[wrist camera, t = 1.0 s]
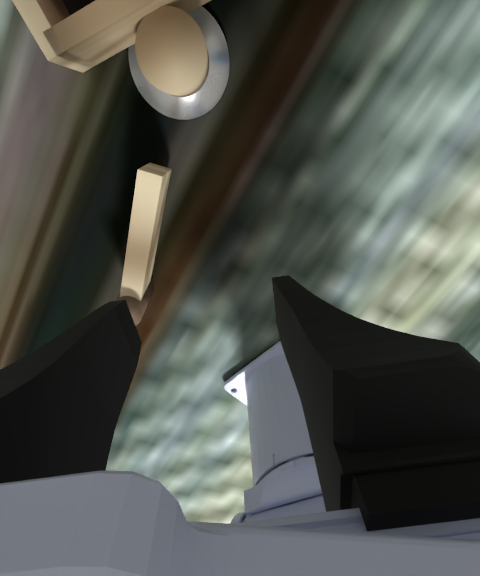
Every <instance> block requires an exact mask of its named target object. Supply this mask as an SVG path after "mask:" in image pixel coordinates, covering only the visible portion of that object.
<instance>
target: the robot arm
mask: <svg viewBox="0 0 480 576" xmlns="http://www.w3.org/2000/svg"><path fill="white" fill-rule="evenodd" d="M272 282H273V292H274V301H275V310H276V319H277V326H278V331H279V336H280V340H281V341H279V342H278V343H277V344H275V345H274V346H273V347H271V348H270V349H268V350H267V351H266V352H264V353H263V354H262V355H260V356H259V357H258V358H256V359H255V360H254V361H252V362H251V363H250V364H248V365H247V366H246V367H244V368H243V369H241V370H240V371H239V372H237V373H236V374H235V375H233V376H232V377H231V378H229V379H228V380H227V381H225V382H224V389H225V390H226V391H227V392H229V393H230V394H231V395H233V396H234V397H235V398H237V399H238V400H240V401H241V402H242V403H244V404H245V405H247V407H248V420H249V433H250V446H251V460H252V473H253V486H254V487H252V488H250V489H248V490H245V491H244V505H245V512H241V513H238V514H237V515H236V516H234V518H233V520H232V521H231V524H223V523H207V522H187V521H186V519H185V516H184V514H183V512H182V509H181V507H180V505H179V502H178V501H177V500H176V499H175V498H174V496H173V495H172V494H171V493H170V492H169V491H168V490H167V489H166V488H165V487H164V486H163V485H162V484H161V483H160V482H159V481H157V480H154V479H151V478H149V477H146V476H143V475H140V474H138V473H135V472H132V471H105V469H106V465H107V460H108V455H109V451H110V447H111V443H112V439H113V435H114V430H115V427H116V424H117V421H118V417H119V415H120V412H121V409H122V406H123V404H124V401H125V398H126V395H127V393H128V390H129V387H130V384H131V382H132V379H133V376H134V373H135V370H136V367H137V364H138V359H139V354H140V349H141V343H142V342H141V340H140V337H139V334H138V332H137V329H136V326H135V323H134V321H133V318H132V315H131V313H130V310H129V307H128V305H127V302H126V299H125V300H119V301H112V302H109V303H107V304H105V305H103V306H101V307H100V308H98V309H97V310H95V311H94V312H92V313H91V314H89V315H88V316H86V317H85V318H84V319H82V320H81V321H79V322H78V323H76V324H75V325H73V326H72V327H71V328H69V329H68V330H66V331H65V332H63V333H62V334H60V335H59V336H57V337H56V338H54V339H53V340H51V341H50V342H48V343H46V344H45V345H43V346H42V347H40V348H39V349H37V350H35V351H34V352H32V353H30V354H29V355H27V356H25V357H23V358H21V359H20V360H18V361H16V362H14V363H12V364H11V365H9V366H7V367H5V368H3V369H1V370H0V576H480V362H479V361H478V360H477V359H476V358H474V357H473V356H472V355H471V354H470V353H469V352H468V351H467V350H466V349H465V348H464V347H462V346H461V345H460V344H459V343H454V342H448V341H442V340H437V339H431V338H425V337H420V336H415V335H411V334H407V333H403V332H399V331H395V330H391V329H388V328H385V327H381V326H378V325H376V324H373V323H370V322H367V321H364V320H362V319H359V318H357V317H354V316H352V315H350V314H348V313H345V312H343V311H341V310H339V309H337V308H335V307H333V306H332V305H330V304H328V303H327V302H325V301H323V300H321V299H320V298H318V297H317V296H315V295H314V294H312V293H311V292H309V291H308V290H307V289H305V288H304V287H303V286H301V285H300V284H299V283H298V282H296V281H295V280H294V279H292V278H291V277H290V276H281V277H274V278H272ZM233 388H235V389H233Z"/></svg>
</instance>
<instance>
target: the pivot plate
mask: <svg viewBox="0 0 480 576" xmlns="http://www.w3.org/2000/svg"><path fill="white" fill-rule="evenodd" d="M188 14H189V15H190V16H191V17H192V18H193V19H194V20H195V21H196V23H197V24H198V26H199V27H200V29H201V31H202V33H203V36H204V39H205V43H206V46H207V50H208V55H209V72H208V76H207V79H206V81H205V83H204V85H203V86H202V88H201V89H200V90H199V91H198V92H196V93H195V94H193V95H191V96H188V97H175V96H172V95H169V94H167V93H165V92H163V91H161V90H159V89H158V88H156V87H155V86H153V85H152V84H151V83H150V82H149V81H148V80H147V78H146V77H145V76H144V74H143V73H142V71H141V69H140V66H139V64H138V61H137V57H136V52H135V44H133V45H131V46H129V50H128V55H129V65H130V70H131V73H132V77H133V79H134V82H135V84H136V86H137V88H138V90H139V92H140V93H141V95H142V96H143V98H144V99H145V100H146V101H147V102H148V103H149V104H150V105H151V106H152V107H153V108H154V109H156V110H157V111H158V112H160V113H162V114H163V115H166V116H168V117H171V118H175V119H182V120H186V119H194V118H197V117H200V116H202V115H204V114H206V113H207V112H209V111H210V110H211V109H212V108H213V107H214V106H215V105H216V104H217V103H218V101H219V100H220V98H221V97H222V95H223V93H224V91H225V88H226V85H227V82H228V77H229V67H230V62H229V52H228V47H227V43H226V40H225V37H224V34H223V32H222V30H221V28H220V26H219V25H218V23H217V22H216V20H215V19H214V18H213V16H212V15H211V14H210V13H209V12H208V11H207V10H206V9H205V8H204V7H202V6H200V7H199V8H197V9H195V10H193V11H192V12H190V13H188Z"/></svg>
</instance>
